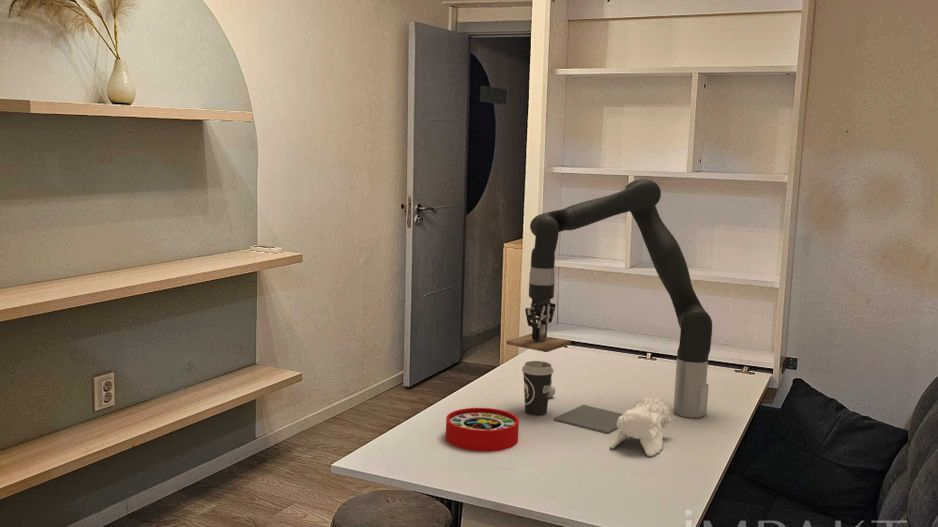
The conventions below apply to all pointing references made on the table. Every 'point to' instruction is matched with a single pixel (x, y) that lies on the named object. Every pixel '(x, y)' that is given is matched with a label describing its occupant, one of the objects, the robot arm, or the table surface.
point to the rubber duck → (551, 390)
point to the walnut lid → (539, 341)
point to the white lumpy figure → (644, 424)
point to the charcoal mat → (591, 418)
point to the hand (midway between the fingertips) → (539, 338)
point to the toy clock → (482, 429)
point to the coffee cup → (537, 386)
